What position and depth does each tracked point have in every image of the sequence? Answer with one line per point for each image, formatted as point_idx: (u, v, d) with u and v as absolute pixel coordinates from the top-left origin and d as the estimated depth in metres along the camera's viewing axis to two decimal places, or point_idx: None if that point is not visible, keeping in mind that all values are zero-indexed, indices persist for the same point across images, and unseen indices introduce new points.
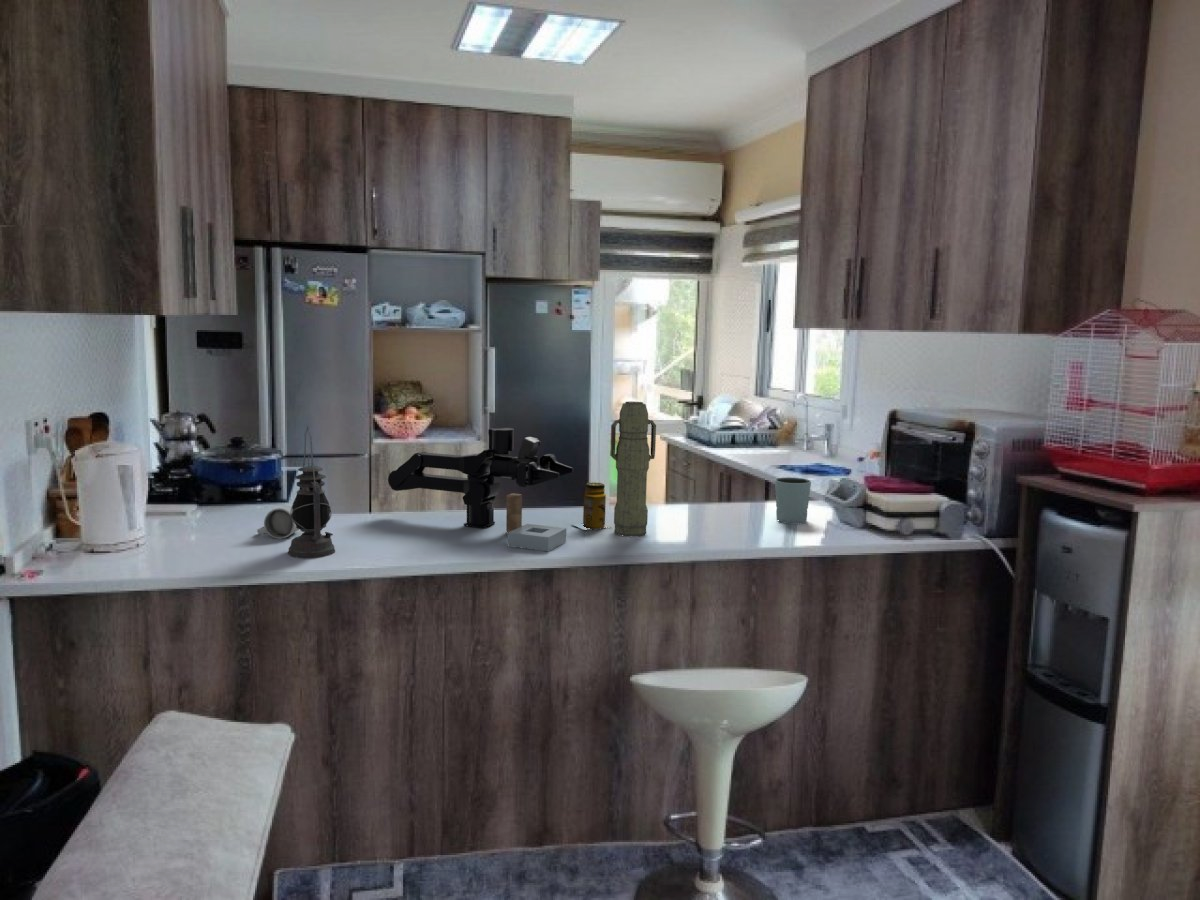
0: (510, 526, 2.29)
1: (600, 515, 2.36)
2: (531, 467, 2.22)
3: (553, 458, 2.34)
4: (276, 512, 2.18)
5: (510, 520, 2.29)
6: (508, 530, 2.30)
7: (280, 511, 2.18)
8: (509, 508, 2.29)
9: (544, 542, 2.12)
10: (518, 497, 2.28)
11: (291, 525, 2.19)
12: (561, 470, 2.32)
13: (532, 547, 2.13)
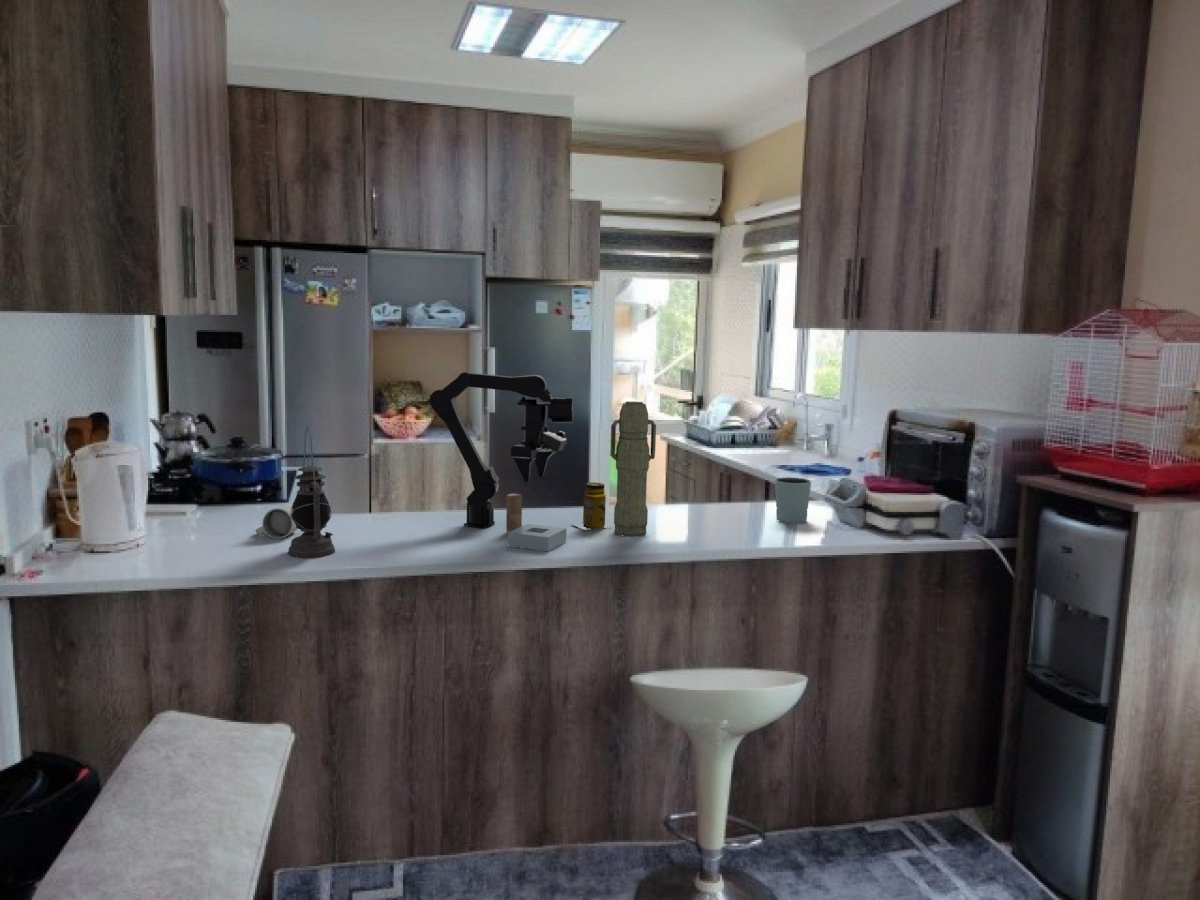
0: (510, 526, 2.29)
1: (600, 515, 2.36)
2: (528, 460, 2.27)
3: (551, 454, 2.40)
4: (274, 512, 2.18)
5: (510, 520, 2.29)
6: (508, 530, 2.30)
7: (278, 511, 2.18)
8: (509, 508, 2.29)
9: (544, 542, 2.12)
10: (518, 497, 2.28)
11: (289, 525, 2.19)
12: (540, 465, 2.40)
13: (532, 547, 2.13)
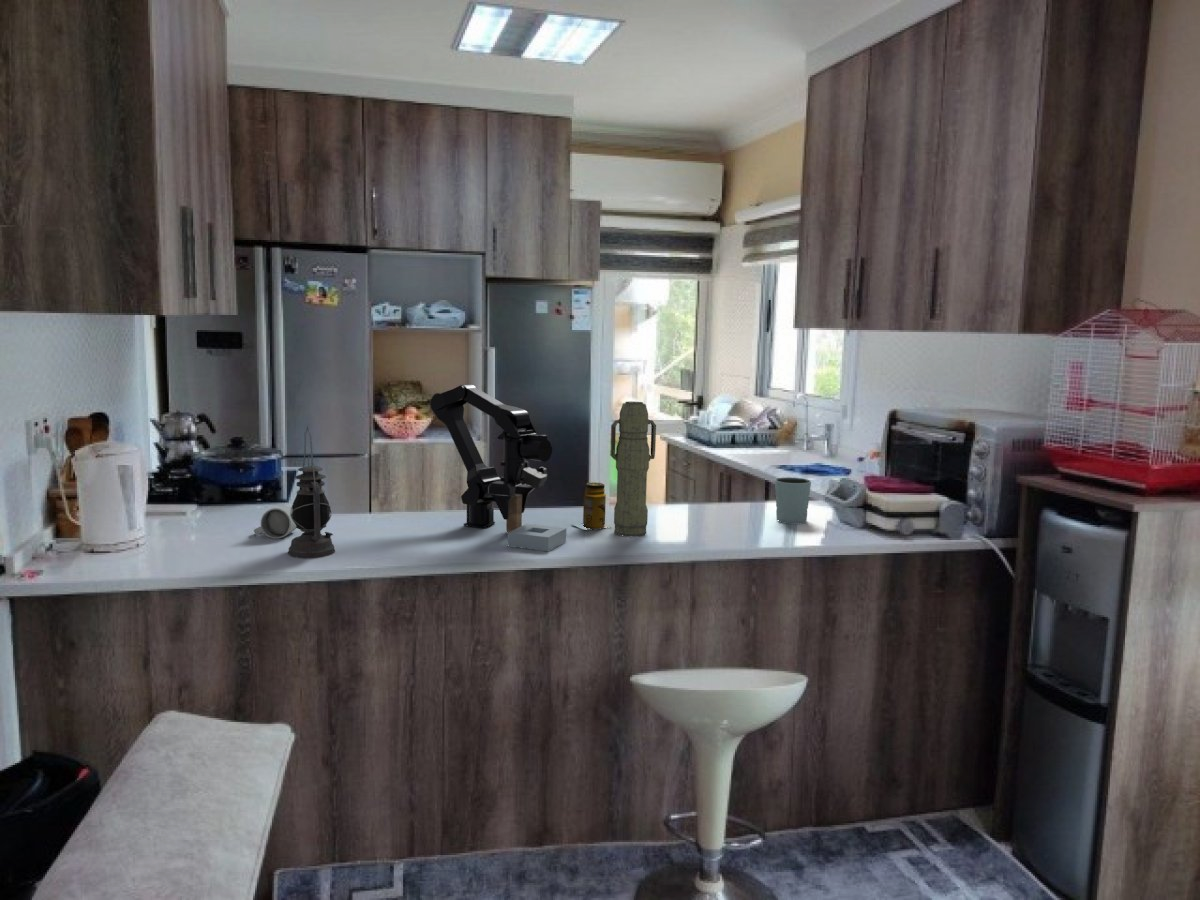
0: (510, 526, 2.29)
1: (600, 515, 2.36)
2: (507, 497, 2.22)
3: (532, 489, 2.34)
4: (273, 512, 2.18)
5: (510, 520, 2.29)
6: (508, 530, 2.30)
7: (277, 511, 2.18)
8: None
9: (544, 542, 2.12)
10: (518, 497, 2.28)
11: (288, 525, 2.19)
12: None
13: (532, 547, 2.13)
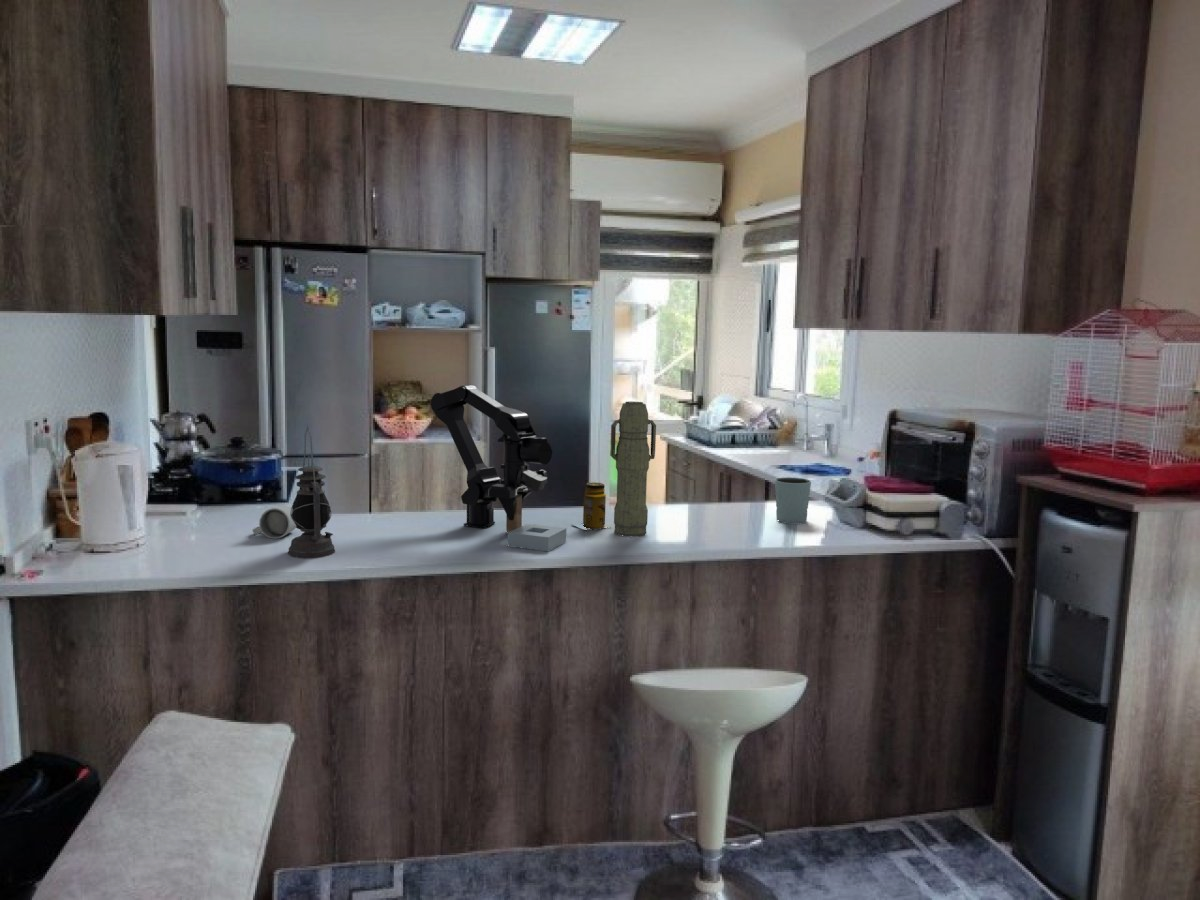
0: (510, 526, 2.29)
1: (600, 515, 2.36)
2: (512, 498, 2.24)
3: (527, 494, 2.31)
4: (271, 512, 2.18)
5: (510, 520, 2.29)
6: (508, 530, 2.30)
7: (275, 511, 2.18)
8: None
9: (544, 542, 2.12)
10: None
11: (286, 525, 2.19)
12: None
13: (532, 547, 2.13)
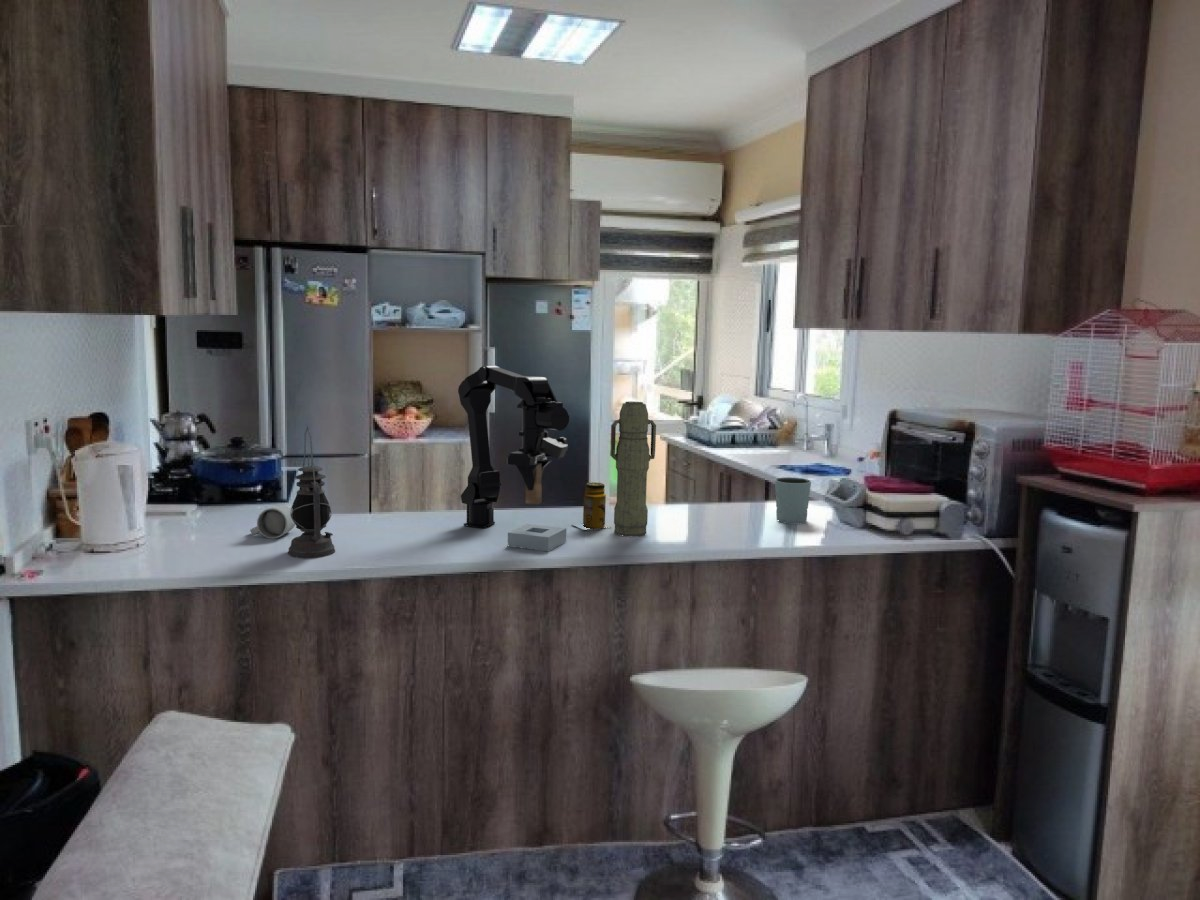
0: (530, 496, 2.18)
1: (600, 515, 2.36)
2: (532, 466, 2.14)
3: (547, 463, 2.20)
4: (269, 512, 2.18)
5: (530, 490, 2.18)
6: (527, 501, 2.19)
7: (273, 511, 2.18)
8: None
9: (544, 542, 2.12)
10: None
11: (284, 525, 2.19)
12: None
13: (532, 547, 2.13)
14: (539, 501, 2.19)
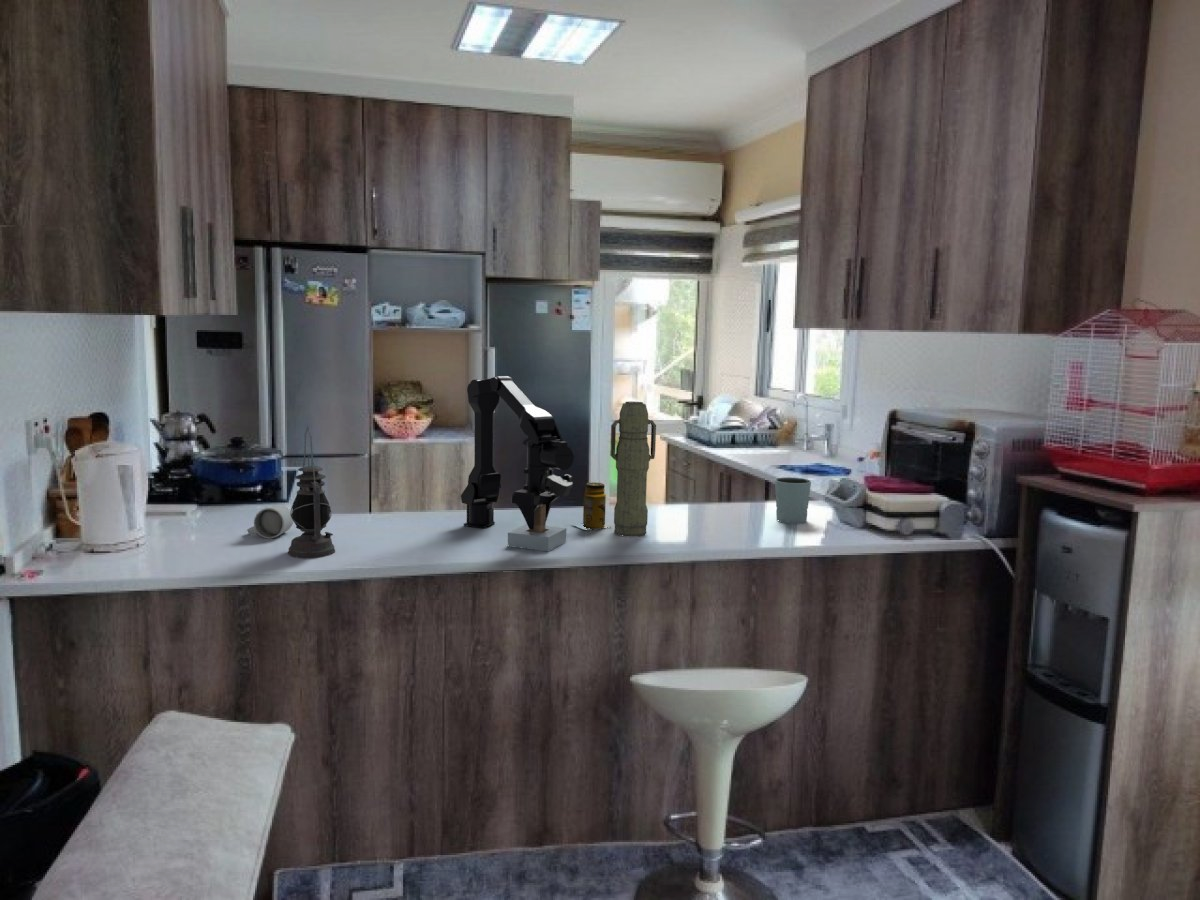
0: None
1: (600, 515, 2.36)
2: None
3: (554, 499, 2.21)
4: (266, 512, 2.18)
5: None
6: None
7: (270, 511, 2.18)
8: None
9: (544, 542, 2.12)
10: (542, 507, 2.16)
11: (281, 525, 2.19)
12: None
13: (532, 547, 2.13)
14: None
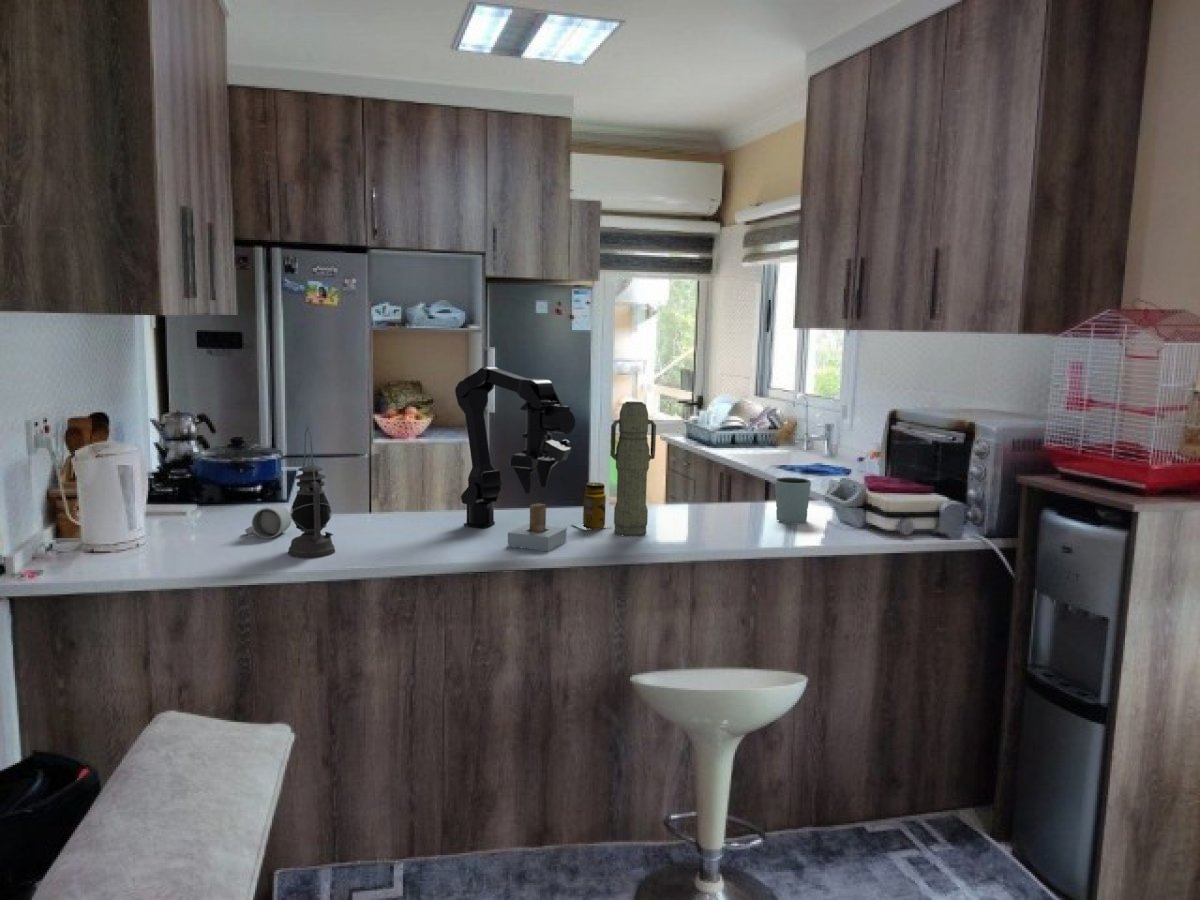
0: None
1: (600, 515, 2.36)
2: None
3: (554, 463, 2.26)
4: (264, 512, 2.18)
5: None
6: None
7: (268, 511, 2.18)
8: (532, 519, 2.16)
9: (544, 542, 2.12)
10: (542, 507, 2.16)
11: (279, 525, 2.19)
12: (542, 474, 2.26)
13: (532, 547, 2.13)
14: None
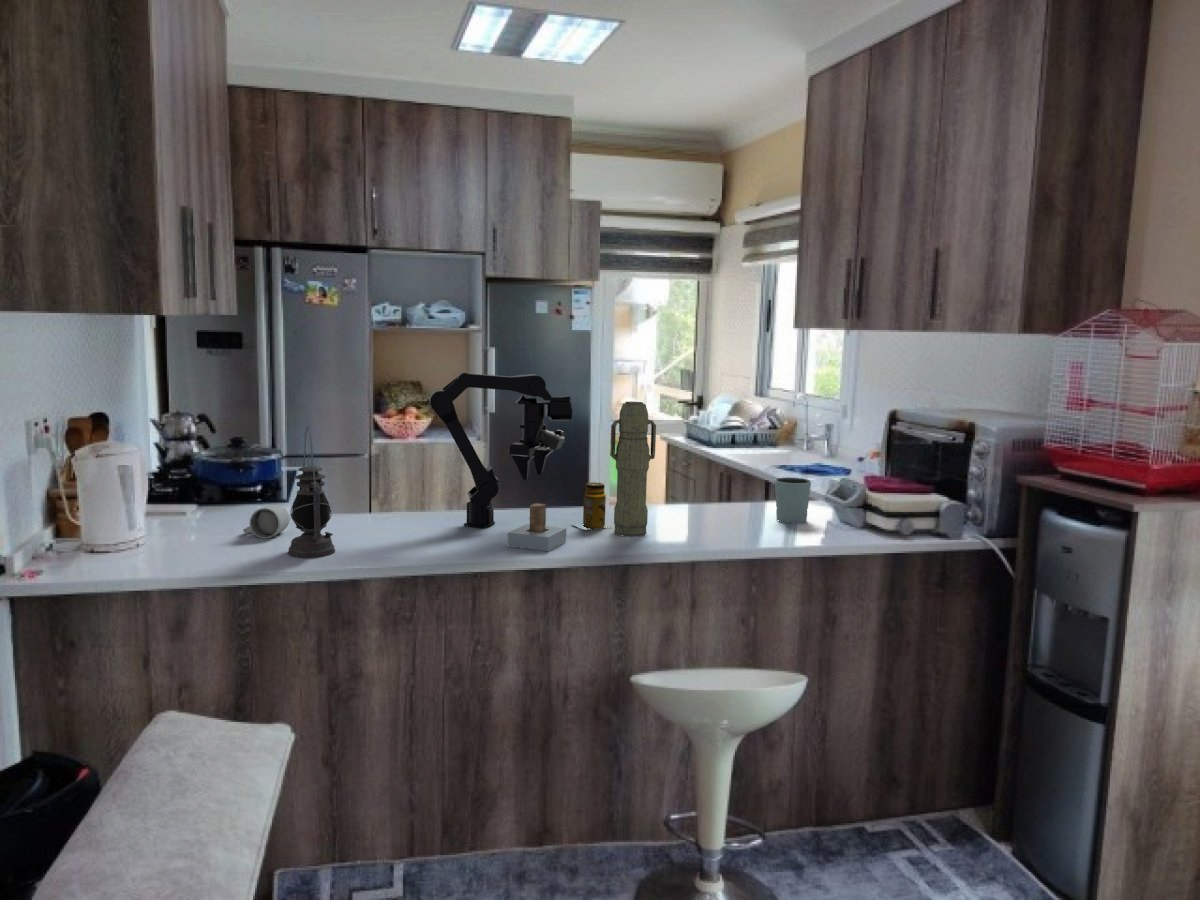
0: None
1: (600, 515, 2.36)
2: (527, 458, 2.31)
3: (549, 452, 2.43)
4: (262, 512, 2.18)
5: None
6: None
7: (266, 511, 2.18)
8: (532, 519, 2.16)
9: (544, 542, 2.12)
10: (542, 507, 2.16)
11: (277, 525, 2.19)
12: (538, 463, 2.43)
13: (532, 547, 2.13)
14: None
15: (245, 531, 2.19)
